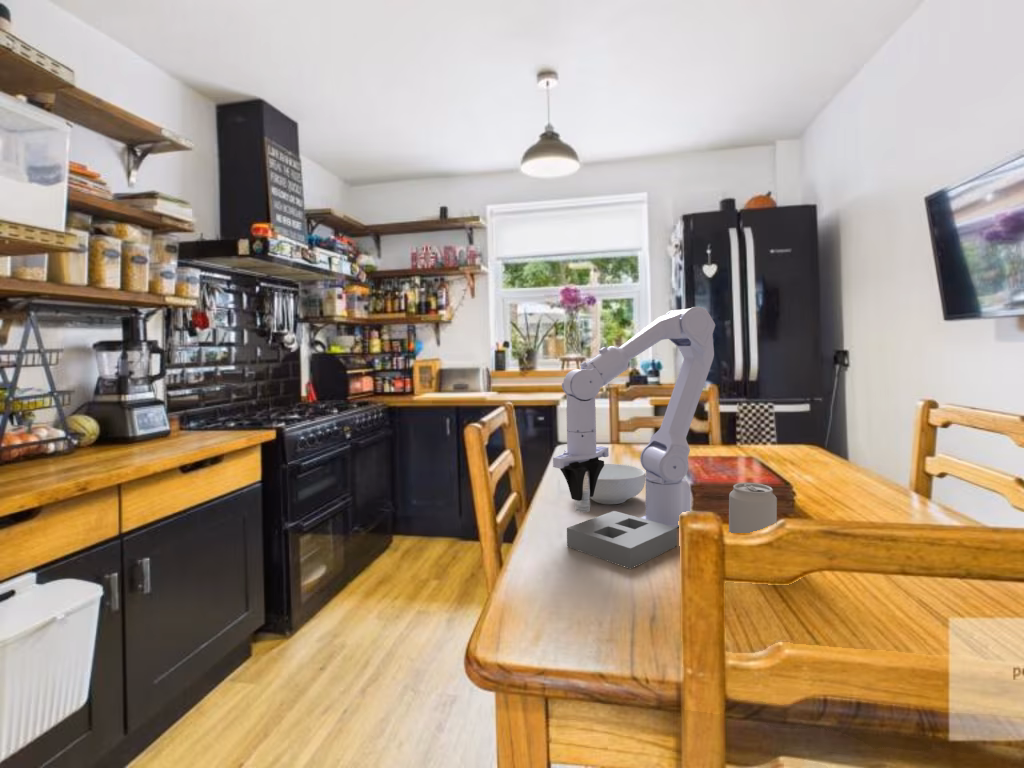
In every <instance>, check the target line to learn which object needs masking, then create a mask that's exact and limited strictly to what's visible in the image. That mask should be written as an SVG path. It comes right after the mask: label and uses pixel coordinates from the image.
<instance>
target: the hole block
mask: <svg viewBox="0 0 1024 768" xmlns="http://www.w3.org/2000/svg"><path fill="white" fill-rule="evenodd" d="M677 528H678V527H673V526H669V525H665V524H661V523H658V522H654V521H650V520H646V519H643V518H640V517H638V516H635V515H631V514H627V513H624V512H621V511H616V510H612V511H610V512H607V513H603V514H601V515H599V516H598V515H597V516H596V517H593V518H591V519H587V520H585V521H582V522H579V523H576V524H574V525H572V526H571V525H570V526H568V527H566V547H567V546H568V547H567V548H570V547H571V549H573V550H576V549H577V550H576V551H578V550H579V551H578V552H581V551H582V552H581V553H585V554H586V555H589V554H590V556H593V557H595V558H598V559H601V558H602V559H601V560H603V559H605V560H604V561H606V560H608V561H607V562H609V561H610V562H609V563H612V562H613V564H615V563H616V564H615V565H617V564H619V565H618V566H620V565H622V566H621V567H623V566H625V567H624V568H626V567H628V568H627V569H629V568H632V567H634V566H636V565H638V566H640V565H641V563H642V564H644V563H646V562H648V561H650V560H652V559H654V558H656V557H658V556H660V555H662V554H664V553H666V552H668V551H670V550H672V549H674V548H676V547H677V546H678V545H677V543H678V542H677V541H678V540H677V536H678V535H677V530H678V529H677ZM675 546H676V547H675ZM671 548H672V549H671ZM669 549H670V550H669ZM667 550H668V551H667ZM665 551H666V552H665ZM663 552H664V553H663ZM661 553H662V554H661ZM659 554H660V555H659ZM651 558H652V559H651ZM645 561H646V562H645ZM643 562H644V563H643ZM639 564H640V565H639ZM636 567H637V566H636ZM634 568H635V567H634ZM632 569H633V568H632Z"/></svg>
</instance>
